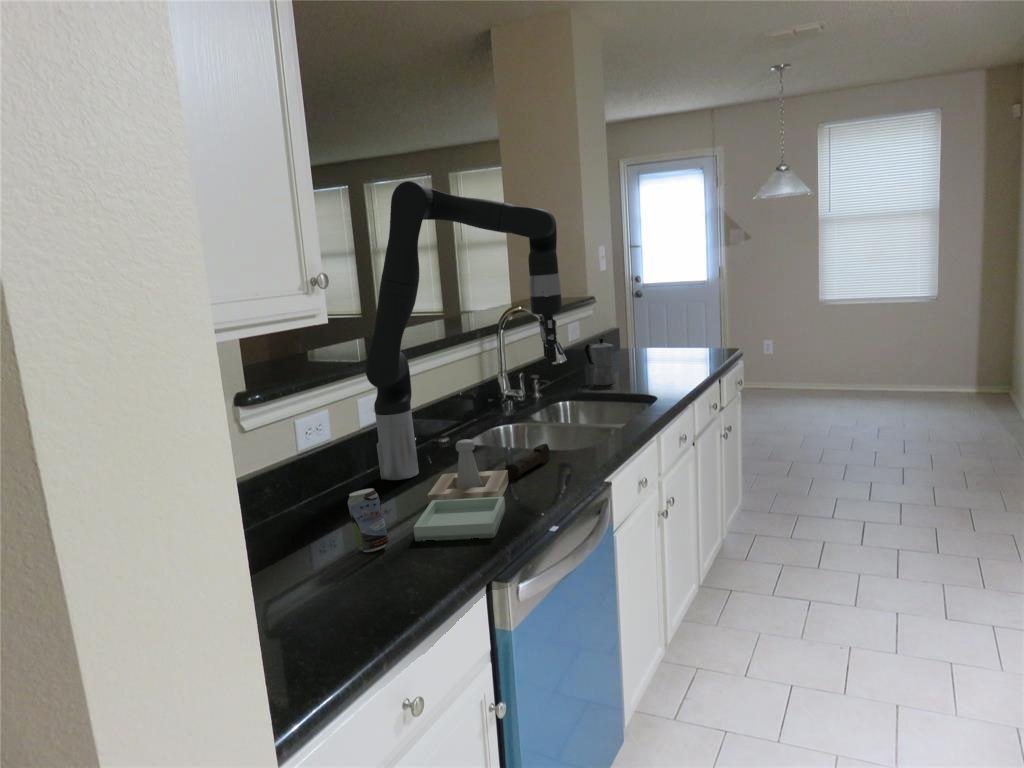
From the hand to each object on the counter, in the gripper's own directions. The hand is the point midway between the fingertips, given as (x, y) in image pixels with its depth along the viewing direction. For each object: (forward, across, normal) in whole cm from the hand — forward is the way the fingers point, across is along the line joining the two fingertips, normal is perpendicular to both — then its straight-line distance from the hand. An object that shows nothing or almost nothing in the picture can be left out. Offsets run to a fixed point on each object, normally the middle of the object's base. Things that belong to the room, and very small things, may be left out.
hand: (550, 359), depth 188 cm
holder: (+28, +14, -22) cm, 38 cm away
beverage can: (+28, +42, -41) cm, 65 cm away
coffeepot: (+28, -111, +29) cm, 118 cm away
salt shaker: (+28, +14, -22) cm, 38 cm away
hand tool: (+28, -3, -7) cm, 29 cm away
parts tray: (+28, +34, -24) cm, 50 cm away
